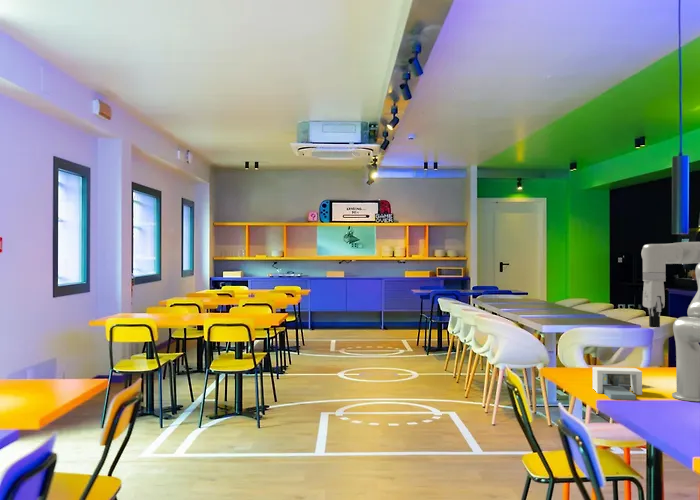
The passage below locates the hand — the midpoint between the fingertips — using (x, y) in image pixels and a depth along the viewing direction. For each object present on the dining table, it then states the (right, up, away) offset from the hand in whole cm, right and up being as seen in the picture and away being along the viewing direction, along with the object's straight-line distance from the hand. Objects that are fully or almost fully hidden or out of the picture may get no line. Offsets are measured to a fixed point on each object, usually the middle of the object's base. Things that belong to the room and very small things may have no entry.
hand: (654, 327), depth 221 cm
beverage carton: (+3, -30, +37) cm, 48 cm away
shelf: (-3, -30, +24) cm, 38 cm away
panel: (-6, -30, +18) cm, 35 cm away
